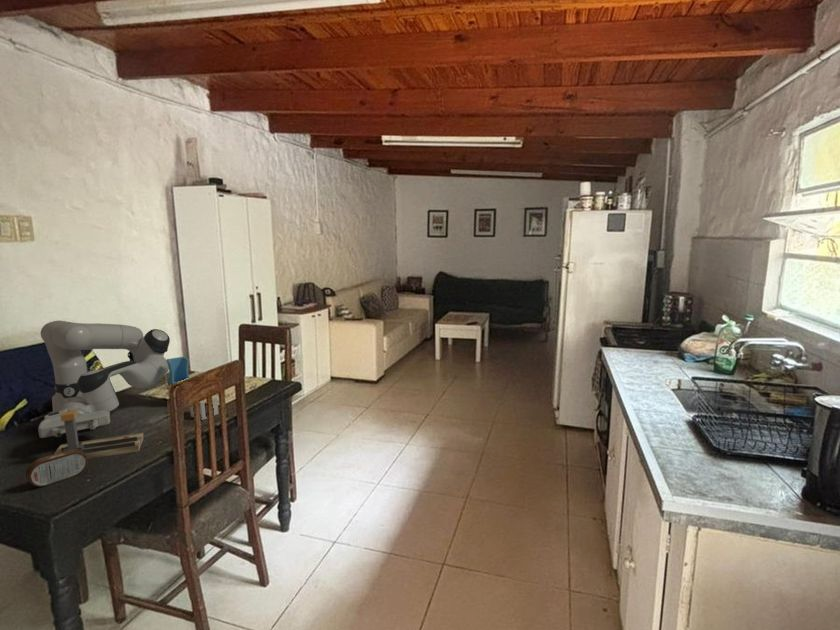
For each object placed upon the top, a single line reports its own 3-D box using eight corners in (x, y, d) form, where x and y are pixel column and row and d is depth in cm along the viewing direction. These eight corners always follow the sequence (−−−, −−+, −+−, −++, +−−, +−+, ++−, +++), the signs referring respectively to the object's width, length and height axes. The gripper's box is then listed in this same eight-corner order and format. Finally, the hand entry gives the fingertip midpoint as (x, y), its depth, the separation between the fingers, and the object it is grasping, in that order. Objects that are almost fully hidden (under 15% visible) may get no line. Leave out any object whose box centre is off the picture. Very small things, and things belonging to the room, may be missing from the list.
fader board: (61, 449, 164) (60, 441, 164) (143, 437, 174) (142, 429, 173) (50, 465, 154) (48, 455, 153) (138, 451, 163) (137, 442, 162)
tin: (87, 469, 151) (84, 444, 149) (90, 472, 149) (87, 447, 147) (27, 489, 139) (23, 462, 138) (30, 492, 137) (26, 465, 136)
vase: (173, 407, 204) (169, 362, 201) (169, 403, 210) (165, 359, 207) (193, 403, 209) (189, 359, 206) (188, 399, 215) (184, 356, 212)
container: (219, 414, 196) (216, 383, 194) (202, 420, 190) (199, 389, 188) (207, 410, 200) (204, 381, 198) (190, 416, 194) (187, 386, 192)
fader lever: (66, 450, 159) (61, 412, 157) (84, 448, 161) (79, 409, 158) (63, 455, 156) (57, 415, 153) (81, 452, 157) (76, 413, 155)
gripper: (111, 419, 177) (113, 431, 166) (41, 433, 166) (39, 447, 155) (108, 403, 176) (110, 414, 165) (38, 416, 165) (36, 429, 154)
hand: (75, 430), depth 160 cm, fingers open, 8 cm apart
